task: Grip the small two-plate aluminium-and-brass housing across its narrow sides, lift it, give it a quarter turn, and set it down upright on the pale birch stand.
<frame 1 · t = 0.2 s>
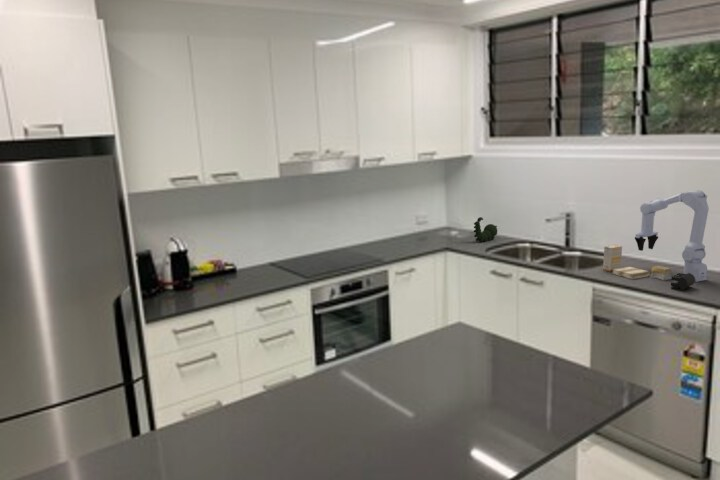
hand: (645, 249, 291), 10 cm above the counter, tool pointing down, fingers open, 7 cm apart
toy figurine: (486, 241, 376), on the counter
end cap: (682, 288, 254), on the counter
stand: (630, 275, 279), on the counter
housing: (660, 278, 272), on the counter
supplement box: (611, 269, 291), on the counter
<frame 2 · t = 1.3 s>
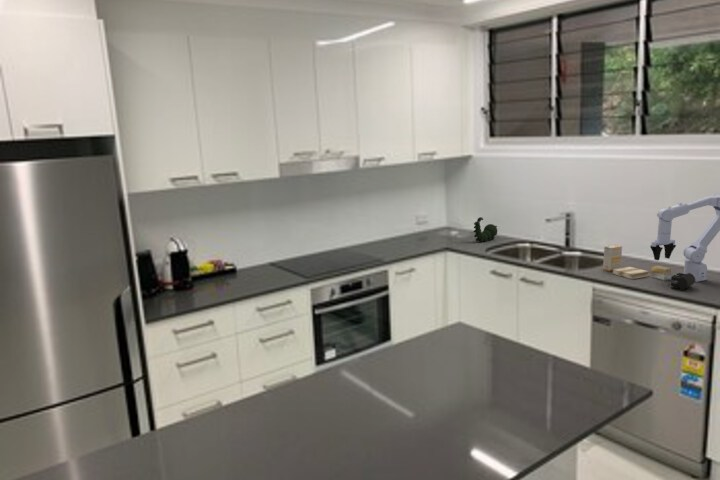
hand: (662, 259, 270), 10 cm above the counter, tool pointing down, fingers open, 7 cm apart
nothing on the counter moved.
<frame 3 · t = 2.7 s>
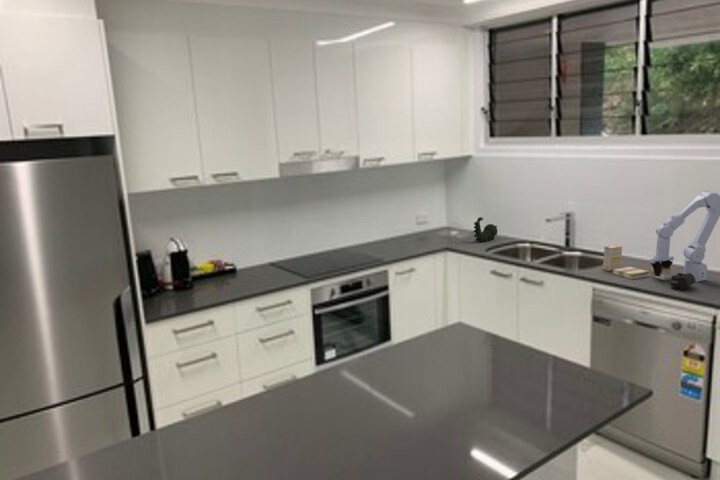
hand: (660, 275, 271), 1 cm above the counter, tool pointing down, fingers closed on housing, 5 cm apart
housing: (660, 277, 272), on the counter, touching gripper
everything else where it was.
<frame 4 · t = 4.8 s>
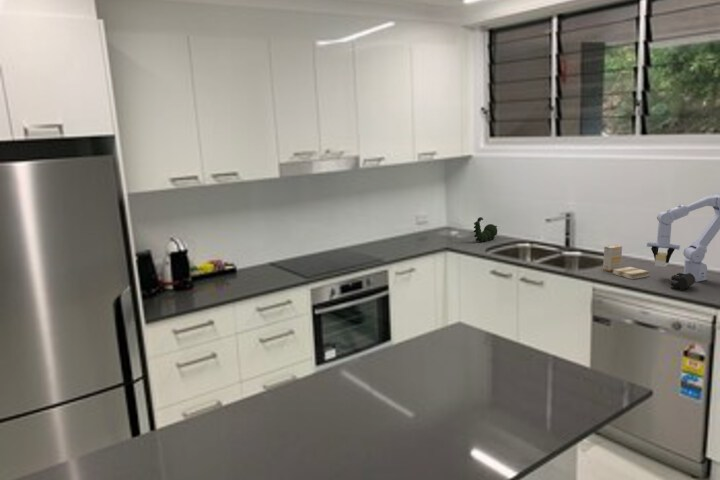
hand: (661, 261, 270), 8 cm above the counter, tool pointing down, fingers closed on housing, 5 cm apart
housing: (661, 264, 270), point 7 cm above the counter, touching gripper
everything else where it was.
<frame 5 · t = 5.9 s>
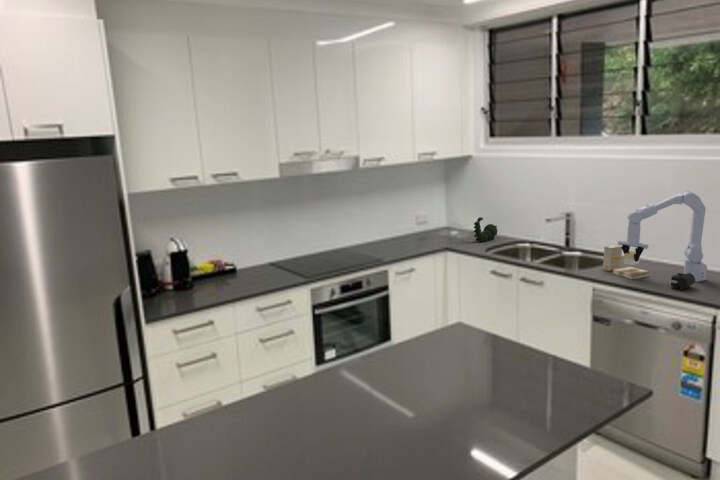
hand: (631, 260, 277), 8 cm above the counter, tool pointing down, fingers closed on housing, 5 cm apart
housing: (631, 263, 277), point 6 cm above the counter, touching gripper
everything else where it was.
when the fingers open (5 cm above the counter, at t = 6.8 s): housing stays where it is, resting on stand.
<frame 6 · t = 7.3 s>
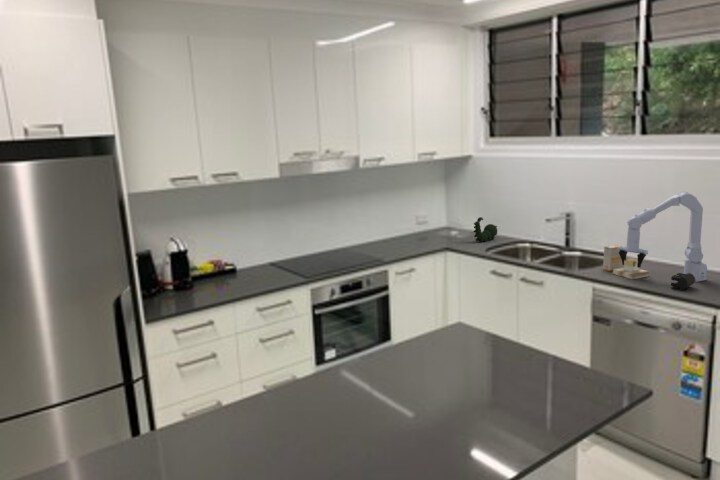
hand: (631, 265, 278), 5 cm above the counter, tool pointing down, fingers open, 7 cm apart
housing: (631, 270, 278), point 2 cm above the counter, touching stand
everything else where it was.
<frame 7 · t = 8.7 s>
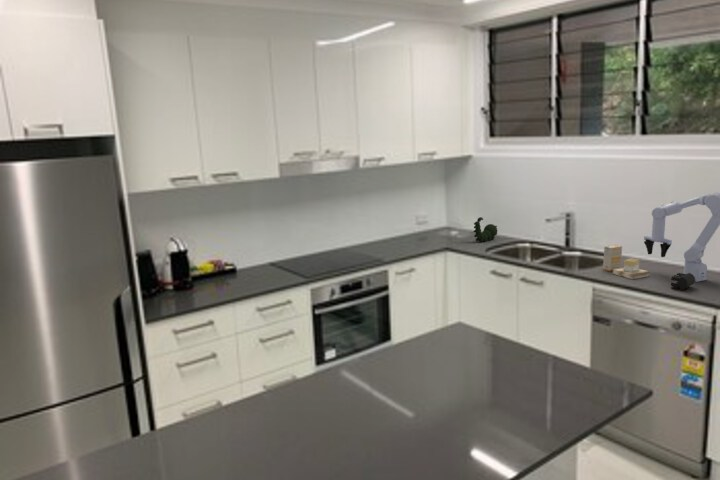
hand: (656, 255, 280), 9 cm above the counter, tool pointing down, fingers open, 7 cm apart
nothing on the counter moved.
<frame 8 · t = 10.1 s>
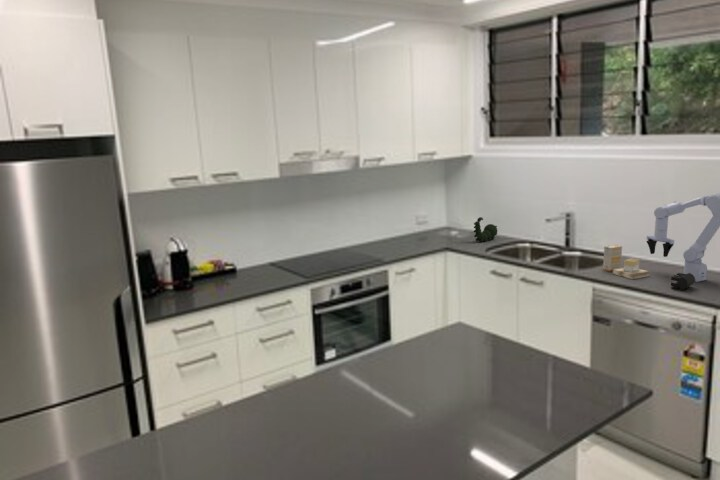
hand: (658, 255, 280), 9 cm above the counter, tool pointing down, fingers open, 7 cm apart
nothing on the counter moved.
at the end: housing 0.1 cm off-centre on the stand, point 2.5 cm above the stand's base; housing tilted 0°; the gripper is holding nothing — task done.
